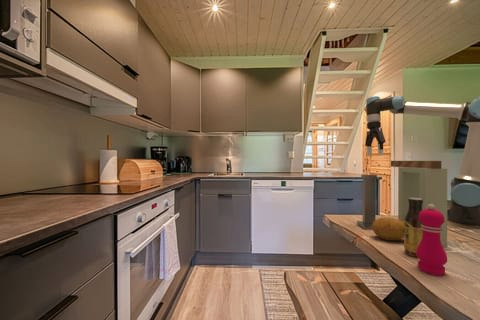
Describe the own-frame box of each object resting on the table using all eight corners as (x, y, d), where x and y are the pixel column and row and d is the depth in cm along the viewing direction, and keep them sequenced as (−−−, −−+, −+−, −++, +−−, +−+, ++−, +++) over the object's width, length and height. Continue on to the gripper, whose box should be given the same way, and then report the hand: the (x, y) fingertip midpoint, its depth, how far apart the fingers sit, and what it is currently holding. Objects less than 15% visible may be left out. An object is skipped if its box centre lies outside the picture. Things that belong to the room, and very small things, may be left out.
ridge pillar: (357, 224, 117) (357, 174, 117) (373, 225, 116) (373, 174, 116) (364, 229, 109) (364, 175, 109) (381, 229, 108) (381, 175, 108)
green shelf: (398, 231, 105) (398, 167, 105) (416, 232, 105) (416, 167, 105) (425, 245, 88) (425, 168, 89) (447, 246, 88) (447, 168, 88)
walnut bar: (390, 166, 116) (390, 160, 116) (397, 166, 116) (397, 160, 116) (433, 168, 88) (433, 160, 88) (441, 168, 88) (441, 160, 88)
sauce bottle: (404, 249, 84) (405, 196, 85) (426, 254, 81) (426, 197, 81) (403, 255, 79) (403, 198, 79) (426, 260, 75) (426, 200, 76)
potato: (410, 247, 87) (410, 222, 87) (370, 239, 95) (370, 217, 95) (409, 240, 95) (410, 217, 95) (372, 233, 103) (373, 213, 103)
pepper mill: (453, 277, 64) (453, 206, 64) (424, 275, 66) (424, 205, 66) (437, 266, 71) (437, 202, 71) (411, 264, 73) (411, 201, 73)
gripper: (358, 125, 155) (359, 156, 154) (377, 117, 130) (379, 154, 129) (370, 125, 155) (371, 156, 154) (391, 117, 130) (393, 154, 129)
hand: (375, 155), depth 142 cm, fingers open, 13 cm apart
